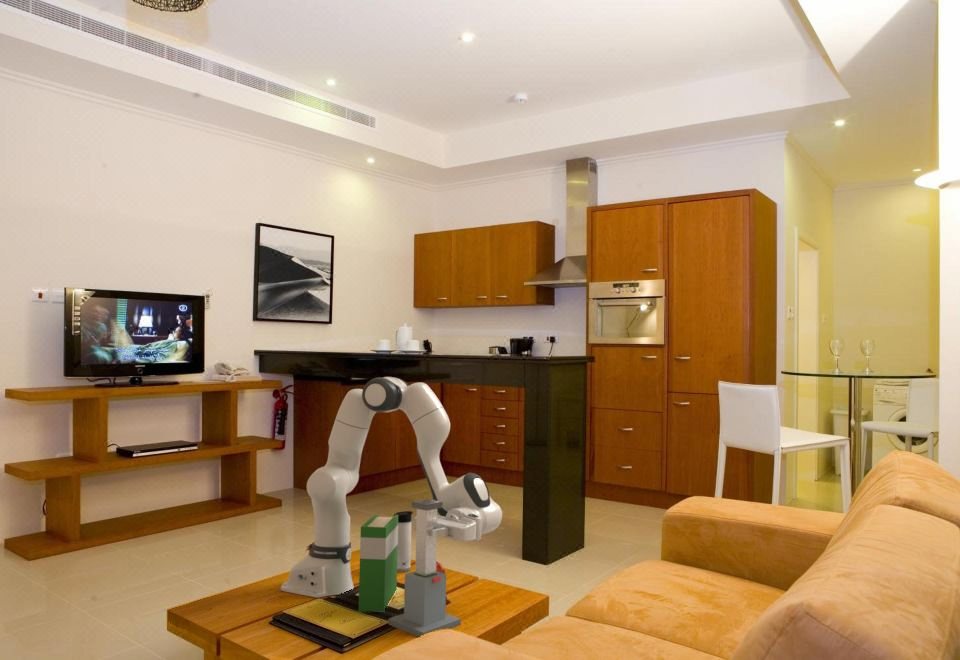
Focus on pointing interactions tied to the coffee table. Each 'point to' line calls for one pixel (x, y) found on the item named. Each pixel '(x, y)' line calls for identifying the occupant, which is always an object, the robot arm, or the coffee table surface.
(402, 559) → the travel mug
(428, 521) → the steel column
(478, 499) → the robot arm
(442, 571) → the dragon fruit
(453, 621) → the stand sleeve
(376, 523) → the hardback book
